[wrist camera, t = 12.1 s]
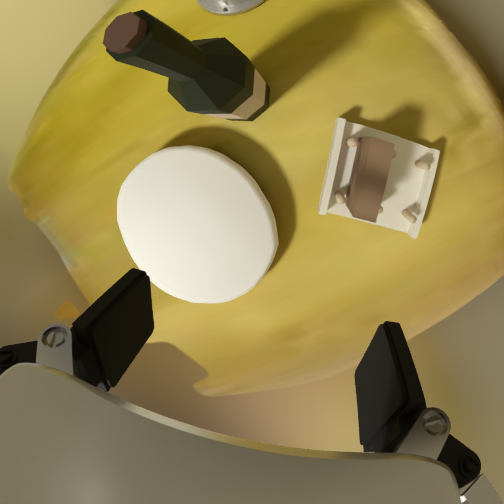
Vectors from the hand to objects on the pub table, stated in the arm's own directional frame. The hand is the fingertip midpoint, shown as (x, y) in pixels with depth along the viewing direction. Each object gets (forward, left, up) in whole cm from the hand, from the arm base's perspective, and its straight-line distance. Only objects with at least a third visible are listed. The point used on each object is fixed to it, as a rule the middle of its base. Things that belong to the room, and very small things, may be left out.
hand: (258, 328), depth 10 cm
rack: (-4, +12, -33) cm, 36 cm away
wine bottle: (-12, -10, -34) cm, 37 cm away
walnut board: (-4, +9, -32) cm, 33 cm away
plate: (+10, -15, -34) cm, 38 cm away
